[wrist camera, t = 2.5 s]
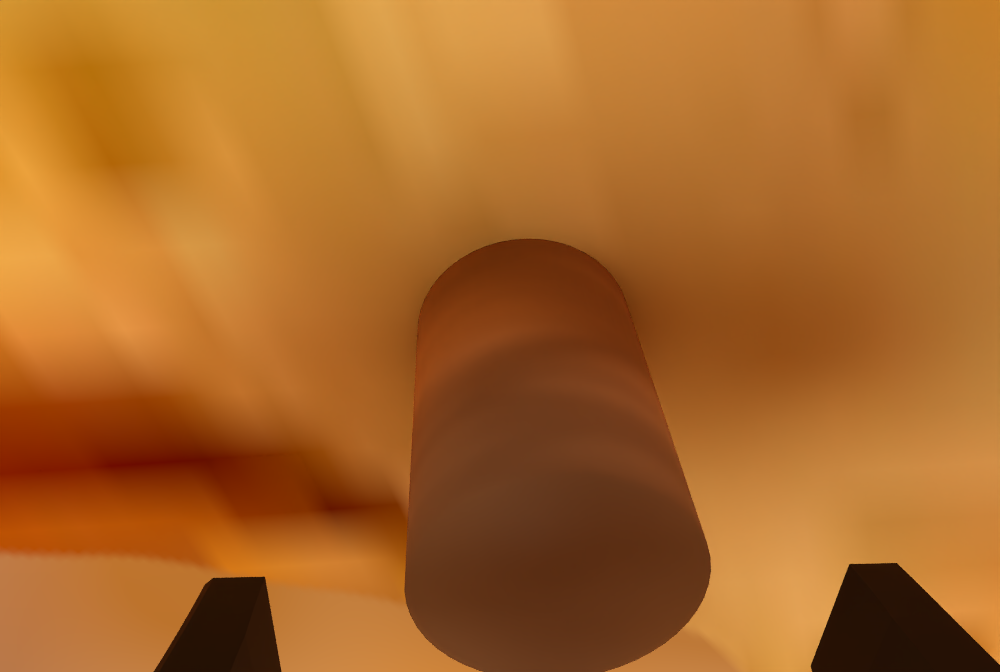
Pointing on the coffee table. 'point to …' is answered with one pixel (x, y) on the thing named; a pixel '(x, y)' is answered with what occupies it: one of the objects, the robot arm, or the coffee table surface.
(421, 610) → the walnut peg
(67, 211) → the coffee table surface
